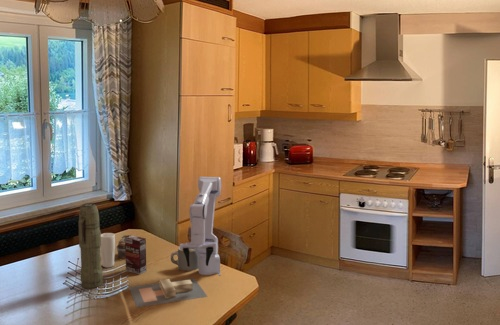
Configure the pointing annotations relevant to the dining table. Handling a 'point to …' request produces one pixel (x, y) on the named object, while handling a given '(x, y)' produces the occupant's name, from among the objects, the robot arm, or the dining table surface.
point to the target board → (154, 294)
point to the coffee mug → (183, 262)
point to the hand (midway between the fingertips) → (197, 265)
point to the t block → (174, 287)
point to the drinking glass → (108, 249)
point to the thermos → (90, 246)
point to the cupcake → (122, 247)
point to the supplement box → (135, 254)
